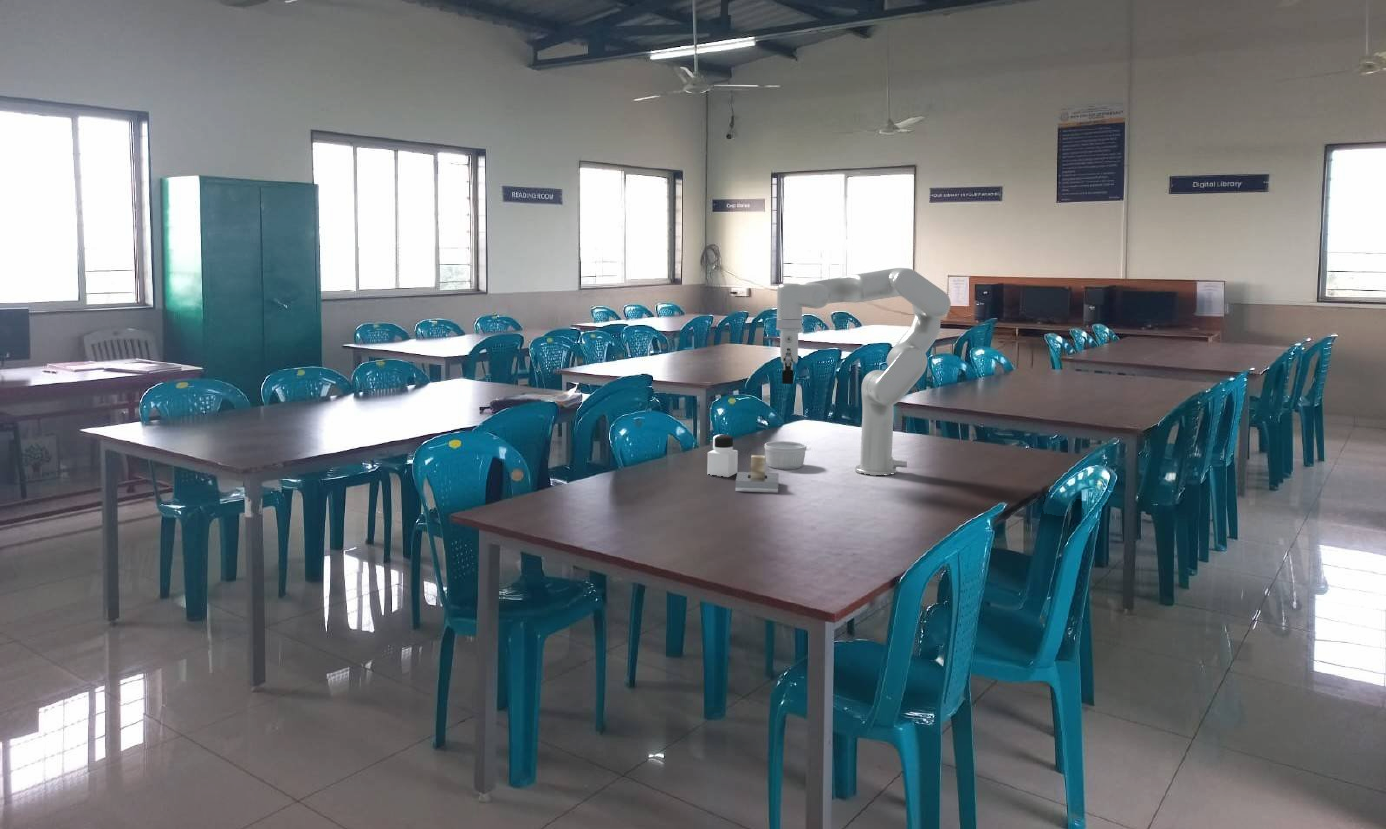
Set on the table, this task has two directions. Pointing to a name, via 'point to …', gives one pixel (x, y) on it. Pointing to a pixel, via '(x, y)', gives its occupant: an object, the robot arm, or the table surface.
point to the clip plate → (757, 482)
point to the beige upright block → (758, 466)
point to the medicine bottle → (722, 457)
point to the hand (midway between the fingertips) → (787, 381)
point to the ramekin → (785, 454)
